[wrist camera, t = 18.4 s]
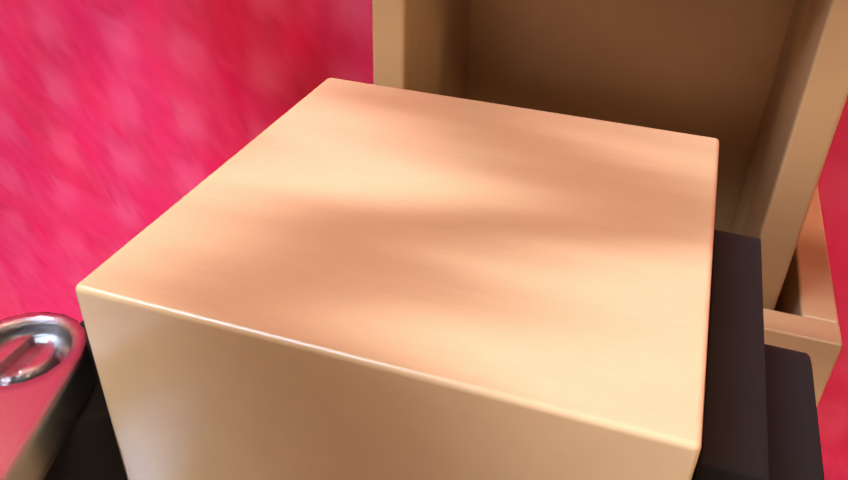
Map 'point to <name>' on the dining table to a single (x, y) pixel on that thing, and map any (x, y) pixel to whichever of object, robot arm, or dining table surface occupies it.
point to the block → (417, 300)
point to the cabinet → (808, 303)
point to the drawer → (653, 83)
